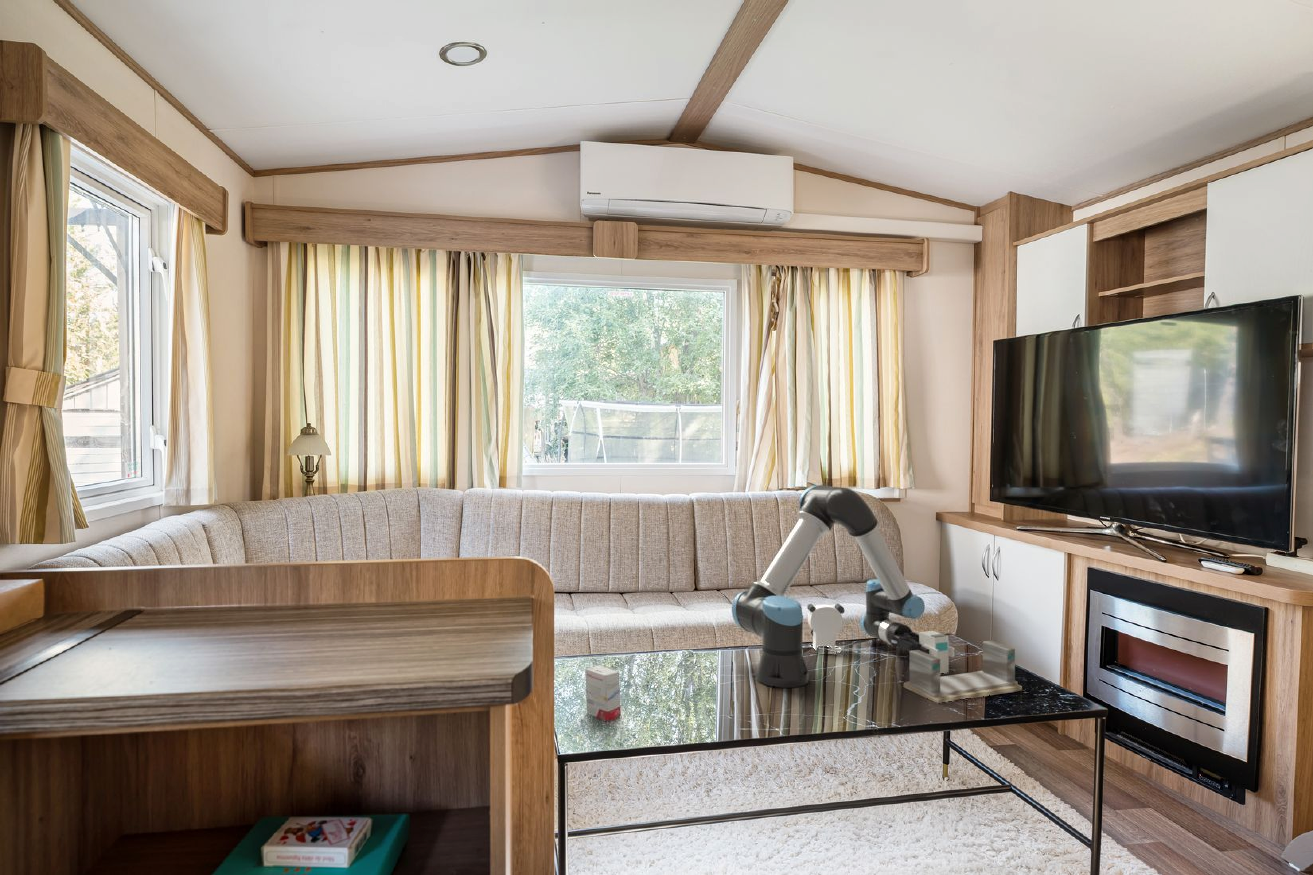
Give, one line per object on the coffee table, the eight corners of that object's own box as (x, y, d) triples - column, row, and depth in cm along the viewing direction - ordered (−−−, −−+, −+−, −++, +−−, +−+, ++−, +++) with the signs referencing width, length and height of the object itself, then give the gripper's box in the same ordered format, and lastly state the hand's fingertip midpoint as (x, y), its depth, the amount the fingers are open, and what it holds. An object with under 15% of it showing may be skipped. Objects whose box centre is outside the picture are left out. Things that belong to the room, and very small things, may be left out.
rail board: (937, 703, 202) (937, 662, 202) (903, 686, 216) (903, 648, 215) (1021, 690, 212) (1021, 651, 212) (984, 674, 225) (984, 638, 225)
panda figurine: (838, 644, 258) (838, 600, 258) (848, 654, 246) (848, 608, 246) (803, 645, 257) (803, 601, 257) (812, 655, 246) (811, 609, 246)
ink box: (621, 717, 194) (621, 671, 194) (606, 722, 191) (606, 676, 191) (599, 708, 201) (599, 664, 200) (584, 713, 197) (584, 668, 197)
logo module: (935, 674, 226) (935, 637, 226) (919, 667, 233) (919, 631, 232) (948, 672, 228) (948, 635, 227) (932, 665, 234) (932, 629, 234)
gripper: (918, 642, 250) (970, 662, 228) (872, 648, 244) (920, 669, 222) (918, 619, 250) (970, 638, 228) (872, 624, 244) (920, 644, 222)
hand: (945, 653), depth 225 cm, fingers closed on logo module, 5 cm apart
